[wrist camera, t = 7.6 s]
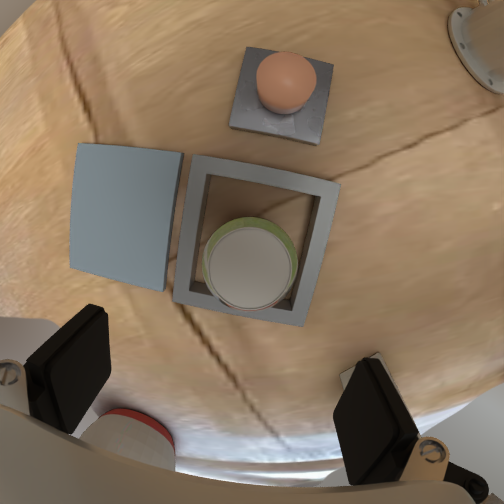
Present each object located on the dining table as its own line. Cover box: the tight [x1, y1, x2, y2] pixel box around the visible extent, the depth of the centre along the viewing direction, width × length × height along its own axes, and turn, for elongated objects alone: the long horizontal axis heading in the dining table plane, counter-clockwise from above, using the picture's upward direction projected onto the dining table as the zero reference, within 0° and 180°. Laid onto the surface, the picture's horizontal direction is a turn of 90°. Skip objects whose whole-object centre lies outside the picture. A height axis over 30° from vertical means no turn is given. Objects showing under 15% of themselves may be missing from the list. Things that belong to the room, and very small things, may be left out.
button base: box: [229, 47, 334, 146], centre depth 24 cm, size 8×8×2 cm
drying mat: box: [70, 143, 184, 292], centre depth 28 cm, size 14×12×1 cm
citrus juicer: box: [79, 409, 175, 471], centre depth 27 cm, size 16×17×20 cm
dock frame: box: [172, 154, 341, 327], centre depth 27 cm, size 14×13×2 cm
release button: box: [256, 52, 316, 114], centre depth 20 cm, size 4×4×4 cm
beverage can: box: [202, 217, 298, 312], centre depth 23 cm, size 6×7×12 cm
